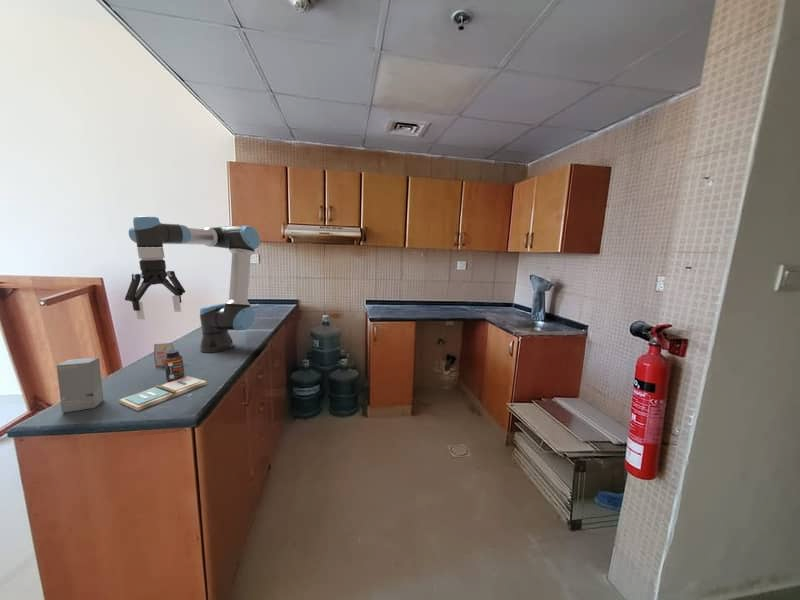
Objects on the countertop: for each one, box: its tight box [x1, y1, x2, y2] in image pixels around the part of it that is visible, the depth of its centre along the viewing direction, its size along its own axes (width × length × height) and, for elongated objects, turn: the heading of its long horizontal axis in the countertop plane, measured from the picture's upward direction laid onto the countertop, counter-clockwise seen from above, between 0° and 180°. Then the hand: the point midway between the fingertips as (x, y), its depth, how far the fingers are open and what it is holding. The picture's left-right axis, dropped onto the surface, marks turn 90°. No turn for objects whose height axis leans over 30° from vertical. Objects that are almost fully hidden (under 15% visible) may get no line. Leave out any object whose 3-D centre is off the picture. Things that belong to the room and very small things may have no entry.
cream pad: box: [161, 376, 201, 391], centre depth 115 cm, size 9×9×1 cm
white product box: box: [153, 342, 176, 368], centre depth 138 cm, size 4×7×10 cm, turn 107°
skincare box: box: [56, 357, 104, 414], centre depth 101 cm, size 8×7×16 cm
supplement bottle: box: [164, 349, 185, 382], centre depth 123 cm, size 6×6×11 cm
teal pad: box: [124, 387, 169, 405], centre depth 106 cm, size 9×9×1 cm
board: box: [118, 375, 208, 412], centre depth 110 cm, size 22×12×2 cm, turn 153°
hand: (160, 315), depth 117 cm, fingers open, 13 cm apart
